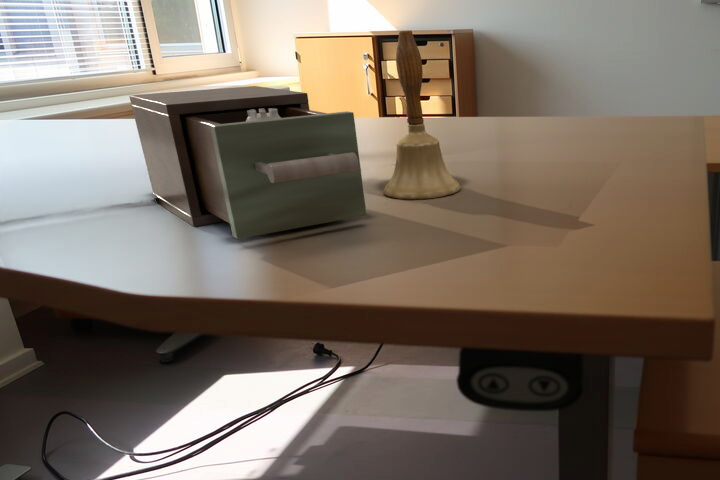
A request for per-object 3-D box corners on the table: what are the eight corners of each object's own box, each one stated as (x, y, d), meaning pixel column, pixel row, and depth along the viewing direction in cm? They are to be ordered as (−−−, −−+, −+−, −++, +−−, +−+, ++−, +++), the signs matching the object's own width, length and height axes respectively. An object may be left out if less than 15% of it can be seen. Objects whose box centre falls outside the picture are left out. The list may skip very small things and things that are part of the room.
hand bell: (445, 200, 76) (431, 30, 69) (370, 198, 78) (350, 32, 71) (470, 183, 83) (460, 28, 76) (402, 182, 85) (386, 30, 78)
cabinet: (324, 204, 76) (307, 93, 71) (193, 227, 68) (165, 104, 64) (272, 184, 86) (255, 85, 82) (155, 201, 79) (128, 95, 75)
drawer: (391, 224, 63) (379, 116, 60) (257, 251, 57) (233, 132, 53) (308, 192, 77) (293, 102, 73) (191, 211, 70) (168, 113, 66)
